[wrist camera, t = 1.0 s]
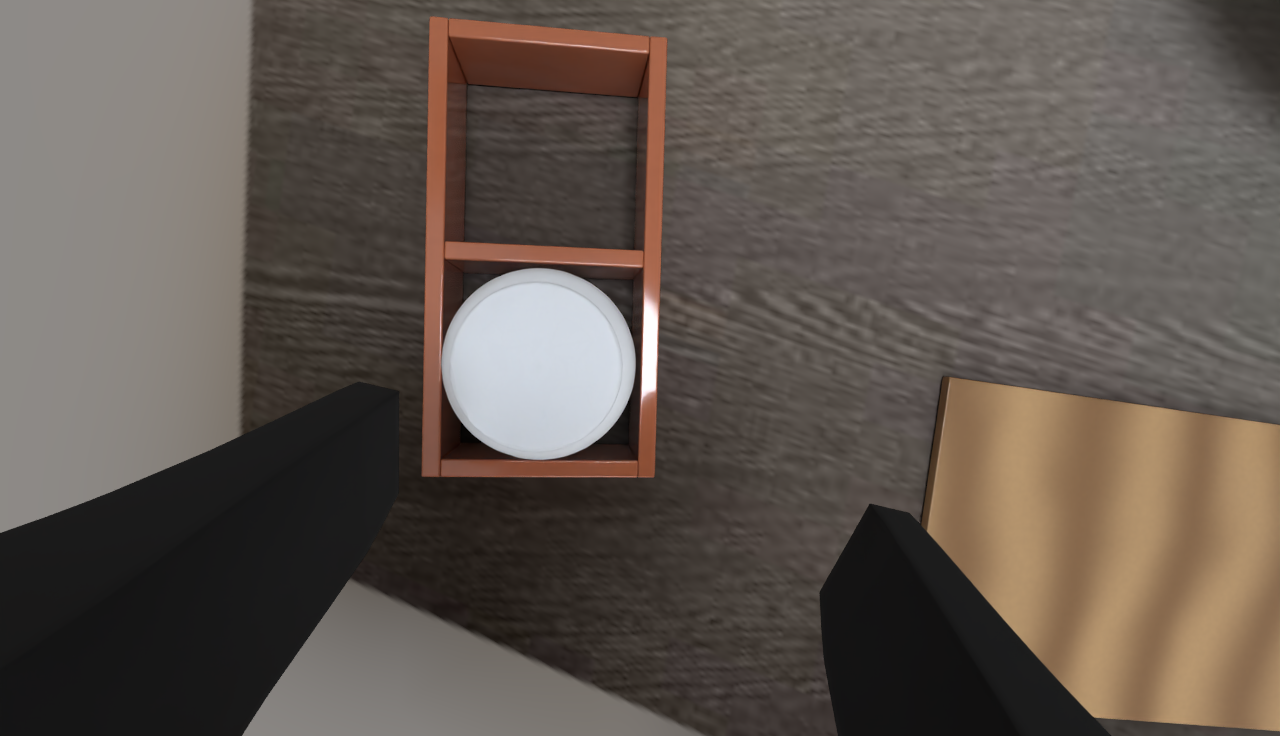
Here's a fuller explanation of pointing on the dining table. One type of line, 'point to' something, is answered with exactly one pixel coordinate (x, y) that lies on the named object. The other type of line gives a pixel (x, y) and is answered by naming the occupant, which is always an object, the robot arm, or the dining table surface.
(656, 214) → the holder
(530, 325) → the pill bottle
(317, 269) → the dining table surface
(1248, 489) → the mat
